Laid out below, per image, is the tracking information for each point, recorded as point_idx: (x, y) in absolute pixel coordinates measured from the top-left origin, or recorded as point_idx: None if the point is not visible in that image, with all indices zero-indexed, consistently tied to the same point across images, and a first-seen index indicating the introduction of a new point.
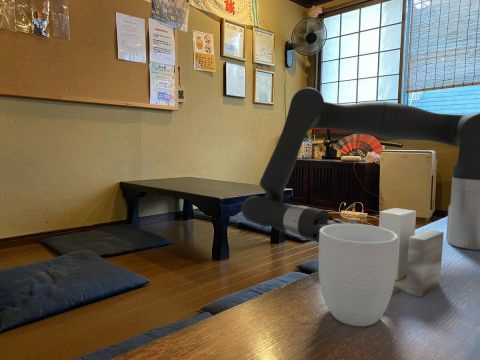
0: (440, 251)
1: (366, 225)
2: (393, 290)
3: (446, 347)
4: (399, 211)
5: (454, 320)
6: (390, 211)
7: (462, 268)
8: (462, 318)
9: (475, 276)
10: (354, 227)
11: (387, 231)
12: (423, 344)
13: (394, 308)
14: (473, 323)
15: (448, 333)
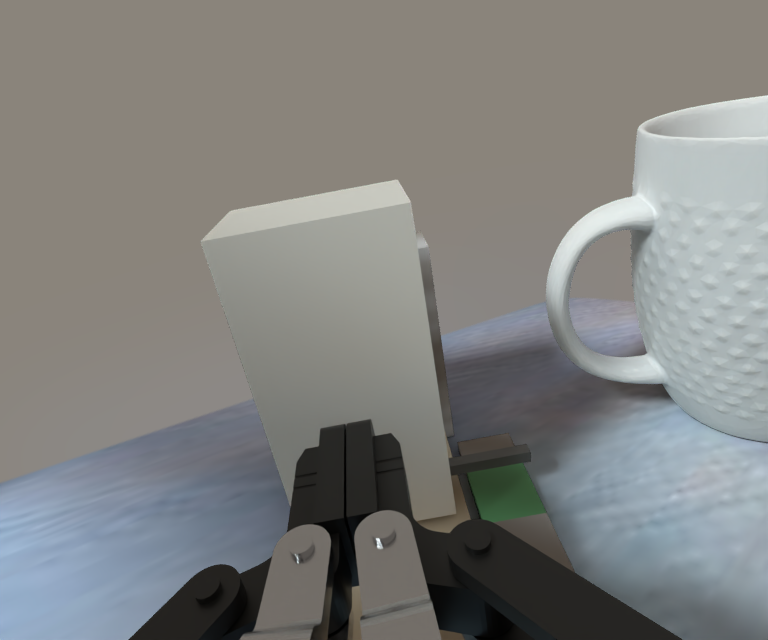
0: None
1: (694, 139)
2: (496, 439)
3: (592, 308)
4: (307, 206)
5: (483, 341)
6: (350, 204)
7: (71, 481)
8: (458, 342)
9: (143, 435)
10: (754, 153)
11: (647, 131)
12: (631, 316)
13: (580, 394)
14: (459, 331)
15: (545, 324)
